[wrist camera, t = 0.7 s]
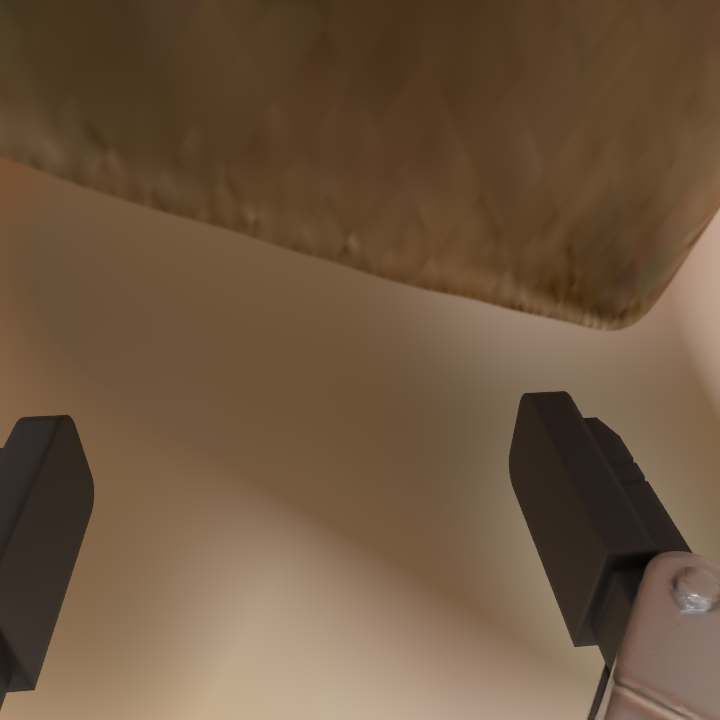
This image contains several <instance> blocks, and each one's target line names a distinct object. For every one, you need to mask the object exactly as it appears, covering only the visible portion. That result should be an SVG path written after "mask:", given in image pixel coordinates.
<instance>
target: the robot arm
mask: <svg viewBox="0 0 720 720" xmlns="http://www.w3.org/2000/svg"><path fill="white" fill-rule="evenodd" d="M509 471H510V478H511V483H512V486H513V489H514V491H515V494H516V497H517V499H518V502H519V504H520V507H521V510H522V512H523V515H524V517H525V520H526V522H527V525H528V528H529V530H530V533H531V535H532V538H533V541H534V543H535V546H536V548H537V551H538V554H539V556H540V559H541V561H542V564H543V566H544V569H545V572H546V574H547V577H548V579H549V582H550V585H551V587H552V590H553V592H554V595H555V598H556V600H557V603H558V605H559V608H560V610H561V613H562V616H563V618H564V621H565V624H566V626H567V629H568V631H569V634H570V636H571V639H572V642H573V644H574V647H581V646H593V645H598V646H599V649H600V651H601V654H602V656H603V658H604V661H605V664H604V666H603V668H602V670H601V673H600V677H599V680H598V683H597V686H596V689H595V692H594V695H593V698H592V701H591V705H590V708H589V711H588V714H587V717H586V720H720V565H718V564H717V563H715V562H714V561H712V560H709V559H707V558H705V557H703V556H700V555H697V554H693V553H692V551H691V550H690V548H689V547H688V545H687V544H686V542H685V540H684V539H683V537H682V536H681V534H680V532H679V531H678V529H677V527H676V526H675V524H674V523H673V521H672V519H671V518H670V516H669V515H668V513H667V511H666V510H665V509H664V507H663V505H662V504H661V502H660V500H659V499H658V497H657V495H656V494H655V492H654V491H653V489H652V487H651V486H650V484H649V483H648V482H647V481H645V476H644V475H643V473H642V471H641V470H640V468H639V467H638V465H637V463H634V462H633V457H632V456H631V454H630V452H629V451H628V449H627V448H626V446H625V444H624V443H623V441H622V439H621V438H620V436H619V435H617V434H616V433H615V432H614V431H613V430H611V429H610V428H609V427H608V426H606V425H605V424H604V423H603V422H601V421H600V420H599V419H598V418H583V417H582V415H581V413H580V412H579V410H578V409H577V406H576V405H575V403H574V402H573V400H572V398H571V396H570V395H569V394H568V393H567V392H565V391H559V392H539V393H525V394H524V395H523V396H522V398H521V400H520V404H519V410H518V414H517V419H516V424H515V430H514V434H513V439H512V444H511V449H510V454H509ZM93 502H94V484H93V478H92V475H91V472H90V469H89V465H88V462H87V459H86V456H85V453H84V450H83V448H82V444H81V441H80V438H79V435H78V432H77V429H76V426H75V423H74V421H73V419H72V418H71V417H70V416H69V415H57V416H37V417H23V418H21V419H19V420H18V422H17V423H16V425H15V427H14V428H13V430H12V432H11V434H10V436H9V438H8V440H7V442H6V444H5V445H4V448H0V710H1V707H2V704H3V701H4V698H5V696H6V693H7V692H17V691H29V690H35V687H36V684H37V680H38V677H39V674H40V671H41V668H42V665H43V662H44V659H45V656H46V653H47V649H48V646H49V643H50V640H51V637H52V634H53V631H54V627H55V625H56V622H57V618H58V615H59V612H60V609H61V606H62V603H63V600H64V597H65V594H66V590H67V587H68V584H69V581H70V578H71V575H72V572H73V569H74V566H75V562H76V559H77V556H78V553H79V550H80V547H81V544H82V541H83V538H84V534H85V532H86V528H87V525H88V522H89V519H90V516H91V513H92V509H93Z"/></svg>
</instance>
